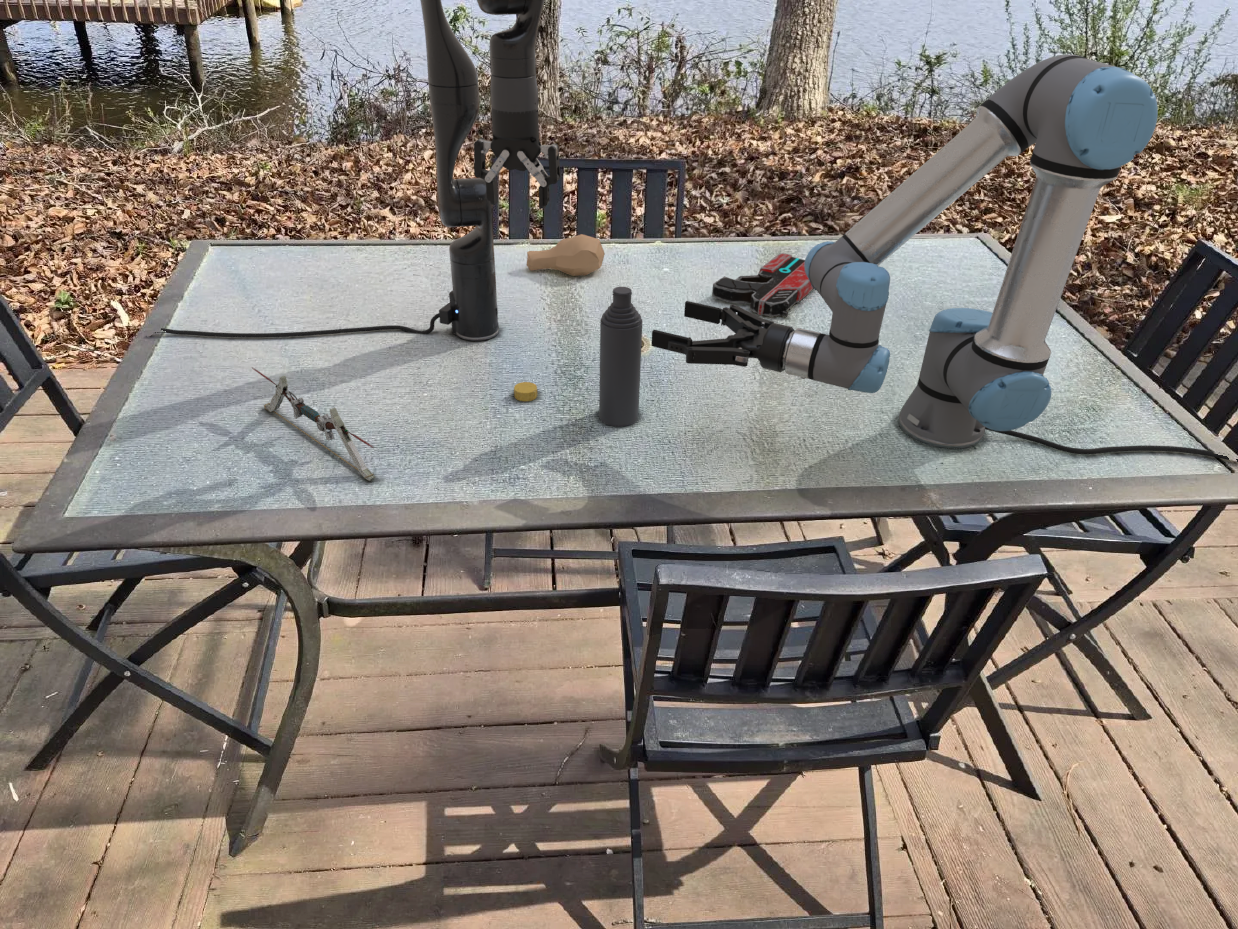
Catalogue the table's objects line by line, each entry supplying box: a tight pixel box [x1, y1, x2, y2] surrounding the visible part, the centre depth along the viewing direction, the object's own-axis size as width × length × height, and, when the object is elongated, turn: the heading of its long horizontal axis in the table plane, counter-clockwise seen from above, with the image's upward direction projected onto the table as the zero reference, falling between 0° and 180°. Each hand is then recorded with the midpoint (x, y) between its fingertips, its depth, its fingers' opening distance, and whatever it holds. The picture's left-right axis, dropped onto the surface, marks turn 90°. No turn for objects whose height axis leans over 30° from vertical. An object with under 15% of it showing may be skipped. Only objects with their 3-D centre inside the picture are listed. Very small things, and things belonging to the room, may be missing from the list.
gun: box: [711, 252, 814, 318], centre depth 215 cm, size 4×31×19 cm
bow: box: [250, 366, 376, 482], centre depth 151 cm, size 39×2×10 cm, turn 47°
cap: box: [513, 381, 538, 402], centre depth 169 cm, size 4×4×2 cm
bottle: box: [598, 286, 643, 428], centre depth 157 cm, size 7×7×25 cm
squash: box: [526, 233, 606, 277], centre depth 222 cm, size 11×20×9 cm, turn 90°
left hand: (518, 205), depth 149 cm, fingers open, 8 cm apart
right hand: (669, 322), depth 149 cm, fingers open, 13 cm apart
